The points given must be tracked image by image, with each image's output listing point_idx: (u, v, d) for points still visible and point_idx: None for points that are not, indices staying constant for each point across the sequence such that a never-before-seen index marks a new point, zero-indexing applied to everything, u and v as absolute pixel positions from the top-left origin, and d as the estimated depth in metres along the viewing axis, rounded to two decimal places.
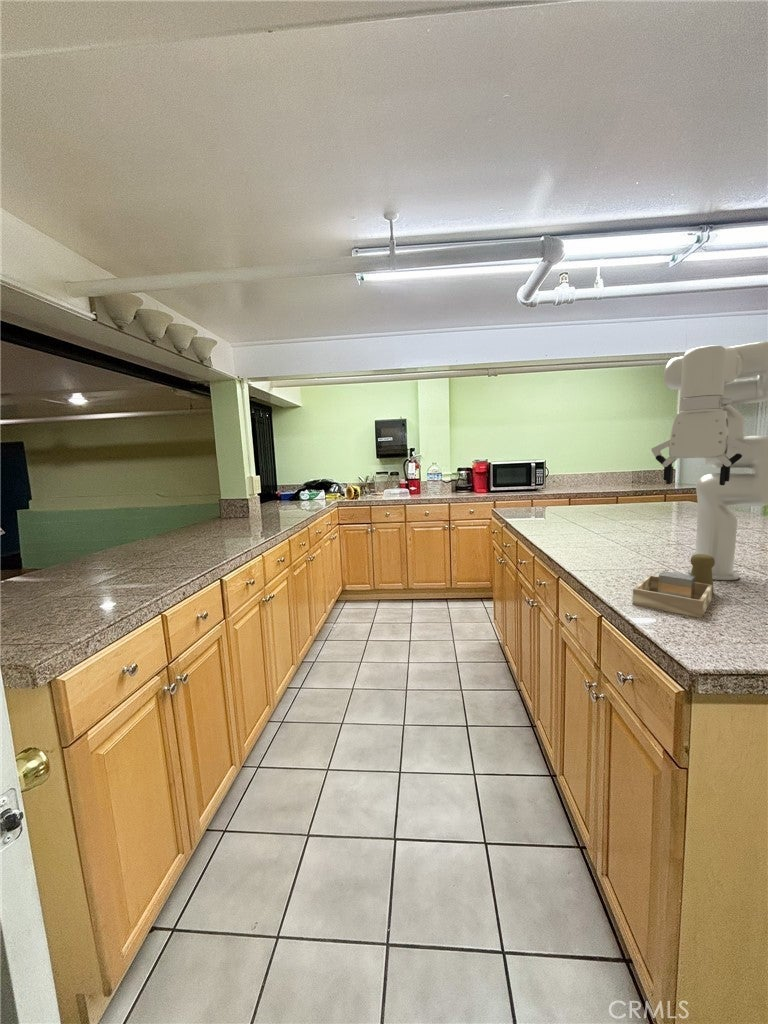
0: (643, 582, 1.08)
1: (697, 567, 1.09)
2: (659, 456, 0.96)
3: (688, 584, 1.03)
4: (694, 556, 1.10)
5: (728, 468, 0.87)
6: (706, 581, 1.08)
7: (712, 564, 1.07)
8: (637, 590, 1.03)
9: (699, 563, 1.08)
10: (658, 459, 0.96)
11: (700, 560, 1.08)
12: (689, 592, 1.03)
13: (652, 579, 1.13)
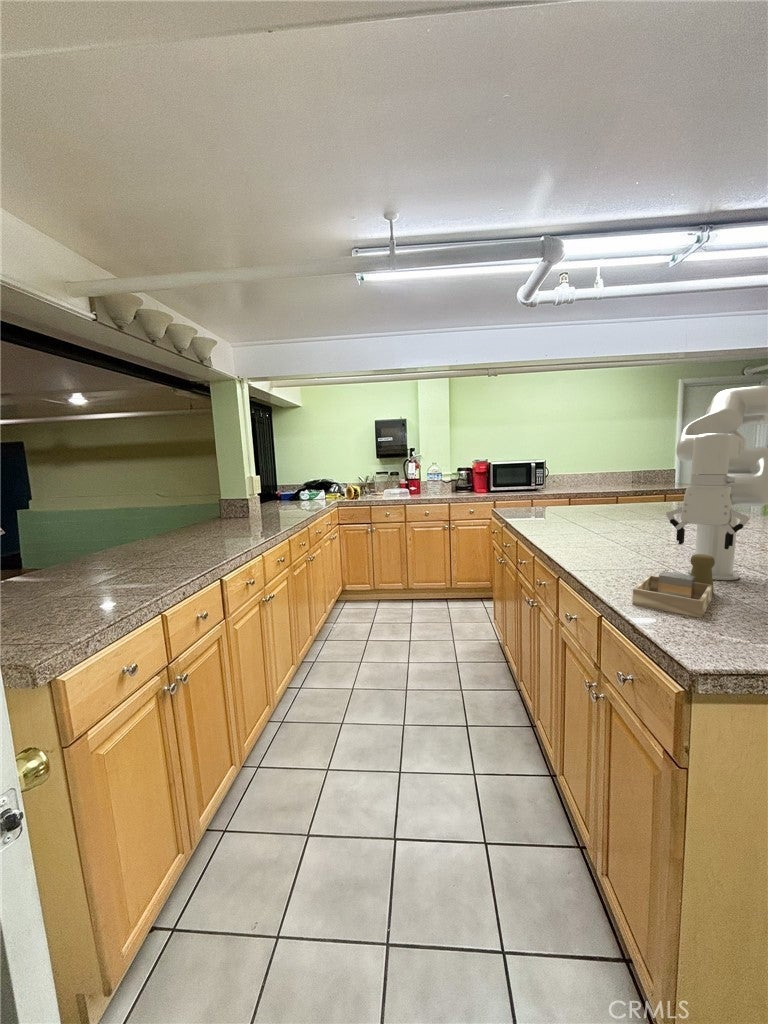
0: (643, 582, 1.08)
1: (697, 567, 1.09)
2: (673, 520, 1.12)
3: (688, 584, 1.03)
4: (694, 556, 1.10)
5: (732, 535, 1.04)
6: (706, 581, 1.08)
7: (712, 564, 1.07)
8: (637, 590, 1.03)
9: (699, 563, 1.08)
10: (672, 522, 1.12)
11: (700, 560, 1.08)
12: (689, 592, 1.03)
13: (652, 579, 1.13)
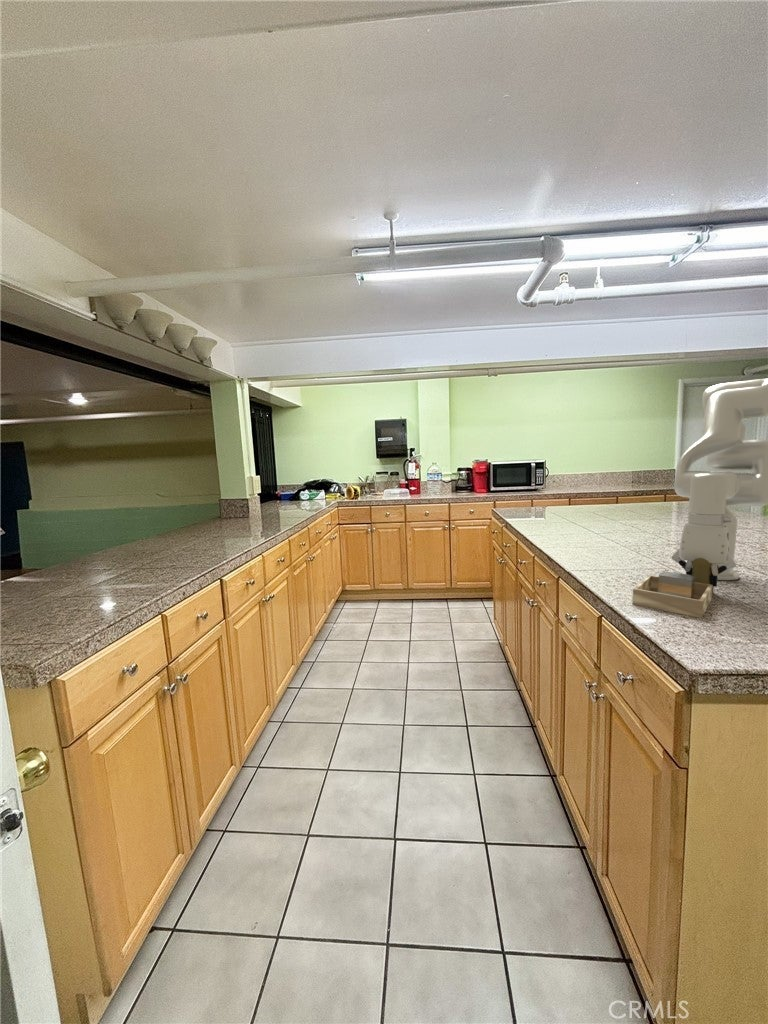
0: (643, 582, 1.08)
1: (697, 567, 1.09)
2: (682, 561, 1.12)
3: (688, 584, 1.03)
4: None
5: (716, 576, 1.07)
6: (706, 581, 1.08)
7: None
8: (637, 590, 1.03)
9: (699, 563, 1.08)
10: (681, 564, 1.12)
11: (699, 560, 1.08)
12: (689, 592, 1.03)
13: (652, 579, 1.13)
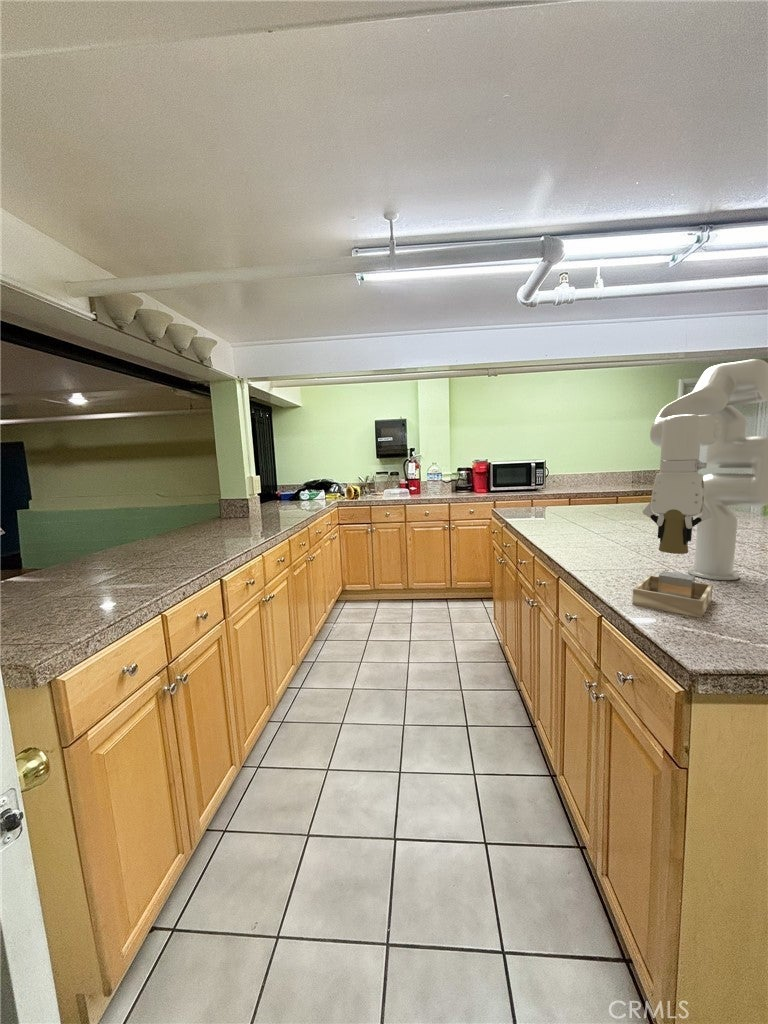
0: (643, 582, 1.08)
1: (669, 520, 0.99)
2: (653, 516, 1.02)
3: (688, 584, 1.03)
4: None
5: (690, 530, 0.97)
6: (679, 534, 0.98)
7: None
8: (637, 590, 1.03)
9: (671, 515, 0.98)
10: (653, 518, 1.02)
11: (672, 511, 0.98)
12: (689, 592, 1.03)
13: (652, 579, 1.13)
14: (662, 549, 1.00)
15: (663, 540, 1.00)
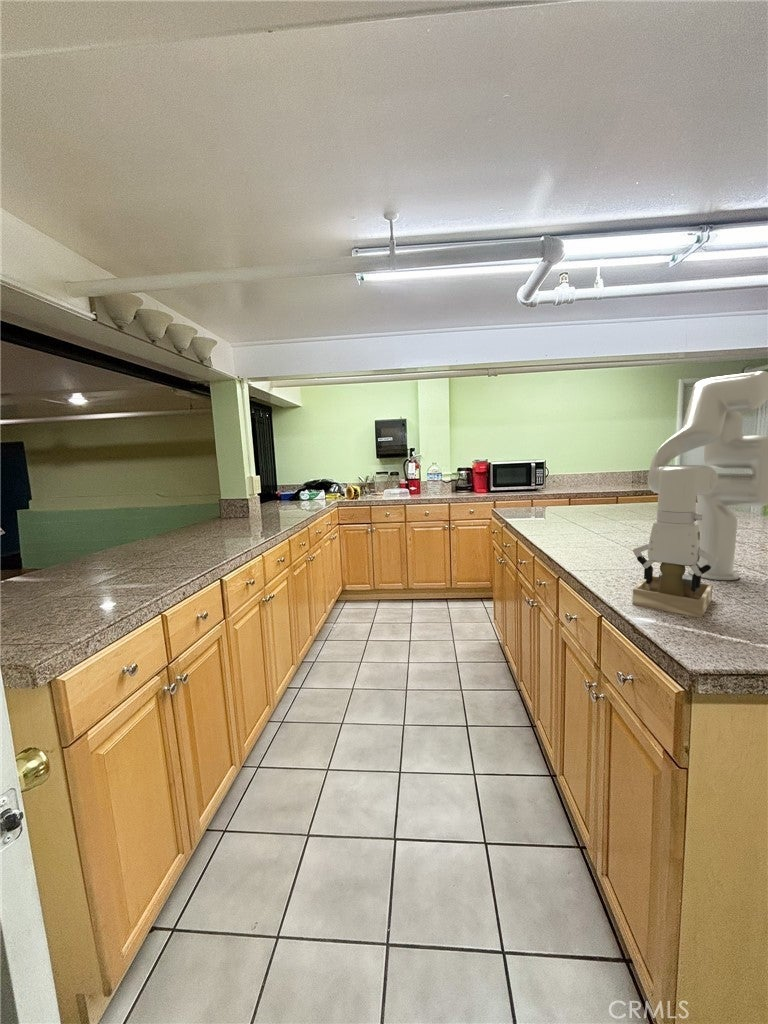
0: (643, 582, 1.08)
1: (666, 575, 1.01)
2: (640, 557, 1.05)
3: (688, 584, 1.03)
4: (663, 563, 1.01)
5: (699, 577, 0.97)
6: (676, 590, 1.00)
7: (682, 572, 0.99)
8: (637, 590, 1.03)
9: (668, 570, 1.00)
10: (639, 560, 1.05)
11: (669, 567, 1.00)
12: (689, 592, 1.03)
13: (652, 579, 1.13)
14: None
15: None
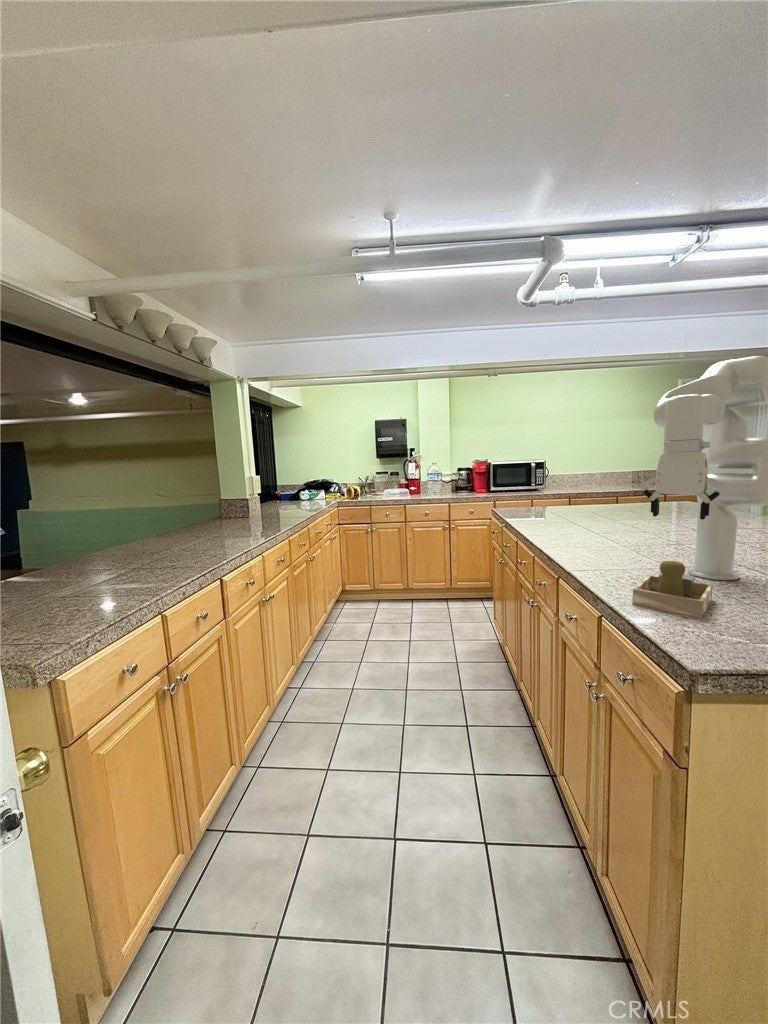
0: (643, 582, 1.08)
1: (666, 575, 1.01)
2: (646, 491, 1.05)
3: (688, 584, 1.03)
4: (663, 563, 1.01)
5: (707, 504, 0.97)
6: (676, 590, 1.00)
7: (682, 572, 0.99)
8: (637, 590, 1.03)
9: (668, 570, 1.00)
10: (645, 493, 1.05)
11: (669, 567, 1.00)
12: (689, 592, 1.03)
13: (652, 579, 1.13)
14: None
15: None
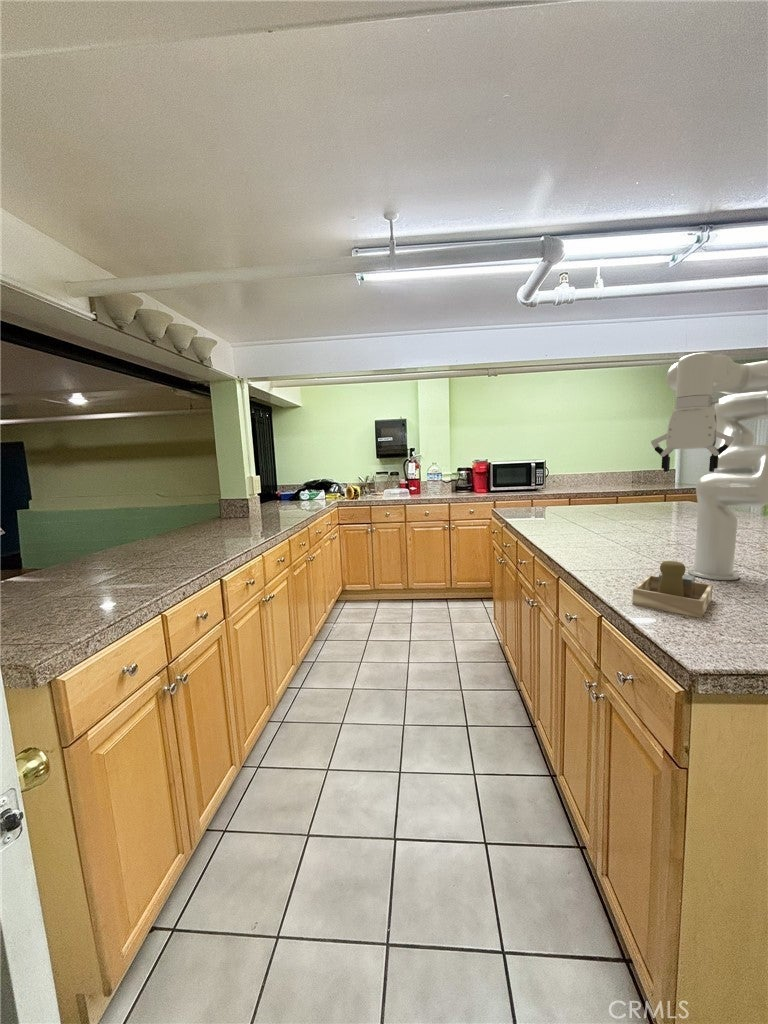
0: (643, 582, 1.08)
1: (666, 575, 1.01)
2: (658, 447, 1.11)
3: (688, 584, 1.03)
4: (663, 563, 1.01)
5: (716, 457, 1.02)
6: (676, 590, 1.00)
7: (682, 572, 0.99)
8: (637, 590, 1.03)
9: (668, 570, 1.00)
10: (657, 450, 1.11)
11: (669, 567, 1.00)
12: (689, 592, 1.03)
13: (652, 579, 1.13)
14: None
15: None
